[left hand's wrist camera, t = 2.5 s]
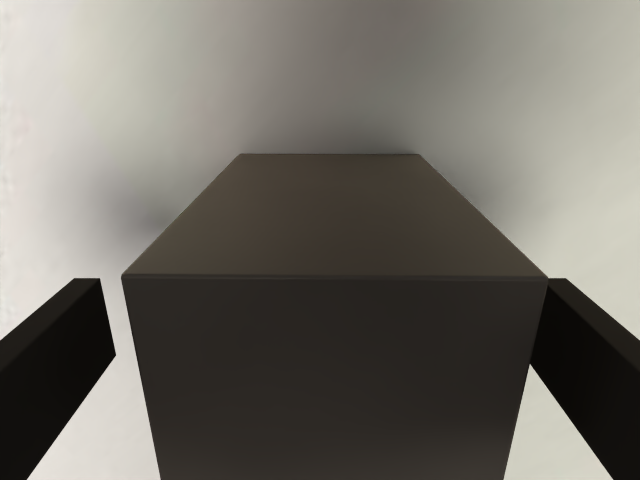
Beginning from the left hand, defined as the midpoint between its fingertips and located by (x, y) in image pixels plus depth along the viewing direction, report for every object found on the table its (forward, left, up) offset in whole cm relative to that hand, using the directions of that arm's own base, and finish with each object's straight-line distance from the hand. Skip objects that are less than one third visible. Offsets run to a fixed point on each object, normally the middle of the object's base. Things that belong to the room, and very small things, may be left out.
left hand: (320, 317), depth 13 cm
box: (+10, +3, -8) cm, 13 cm away
